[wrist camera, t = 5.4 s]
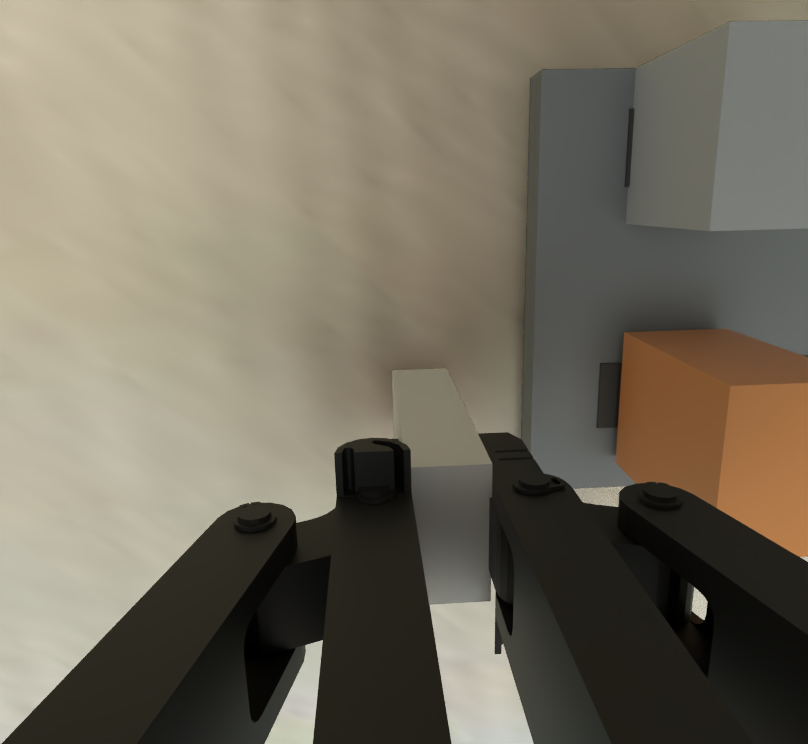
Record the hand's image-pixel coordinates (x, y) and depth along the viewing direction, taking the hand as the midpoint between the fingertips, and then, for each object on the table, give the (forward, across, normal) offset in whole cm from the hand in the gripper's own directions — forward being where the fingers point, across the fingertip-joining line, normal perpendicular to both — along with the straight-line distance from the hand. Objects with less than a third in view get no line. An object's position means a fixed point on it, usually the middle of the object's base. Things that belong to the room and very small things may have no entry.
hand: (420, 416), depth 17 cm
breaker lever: (+1, +7, 0) cm, 7 cm away
